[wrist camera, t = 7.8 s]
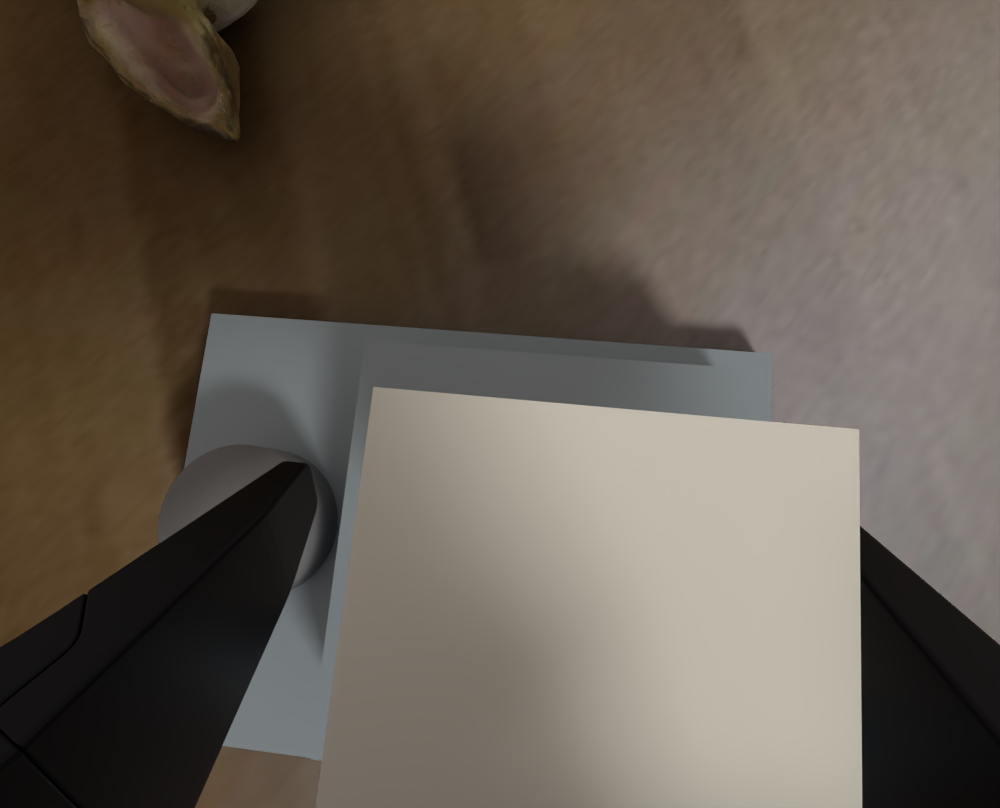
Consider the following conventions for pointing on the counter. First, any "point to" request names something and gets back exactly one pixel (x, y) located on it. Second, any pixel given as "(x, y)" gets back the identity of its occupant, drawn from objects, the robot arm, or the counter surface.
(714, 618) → the cream square pillar
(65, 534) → the counter surface
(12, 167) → the counter surface
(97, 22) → the ceramic sculpture
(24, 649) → the robot arm
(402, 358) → the housing
